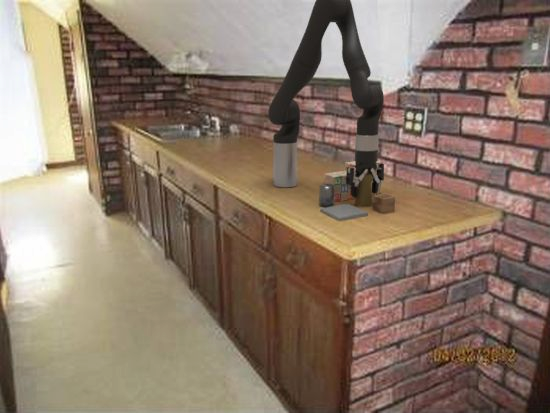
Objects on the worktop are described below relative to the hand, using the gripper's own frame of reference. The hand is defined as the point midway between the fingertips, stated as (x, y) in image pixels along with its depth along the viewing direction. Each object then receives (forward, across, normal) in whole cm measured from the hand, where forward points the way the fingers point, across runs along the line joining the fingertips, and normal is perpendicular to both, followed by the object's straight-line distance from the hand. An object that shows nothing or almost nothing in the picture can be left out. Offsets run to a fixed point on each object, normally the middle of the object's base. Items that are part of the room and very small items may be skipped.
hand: (364, 194), depth 162 cm
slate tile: (+3, +12, +5) cm, 13 cm away
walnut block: (+4, -1, +9) cm, 10 cm away
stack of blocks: (+4, -2, -10) cm, 11 cm away
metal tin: (+3, +12, -5) cm, 13 cm away
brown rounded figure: (+4, 0, 0) cm, 4 cm away
